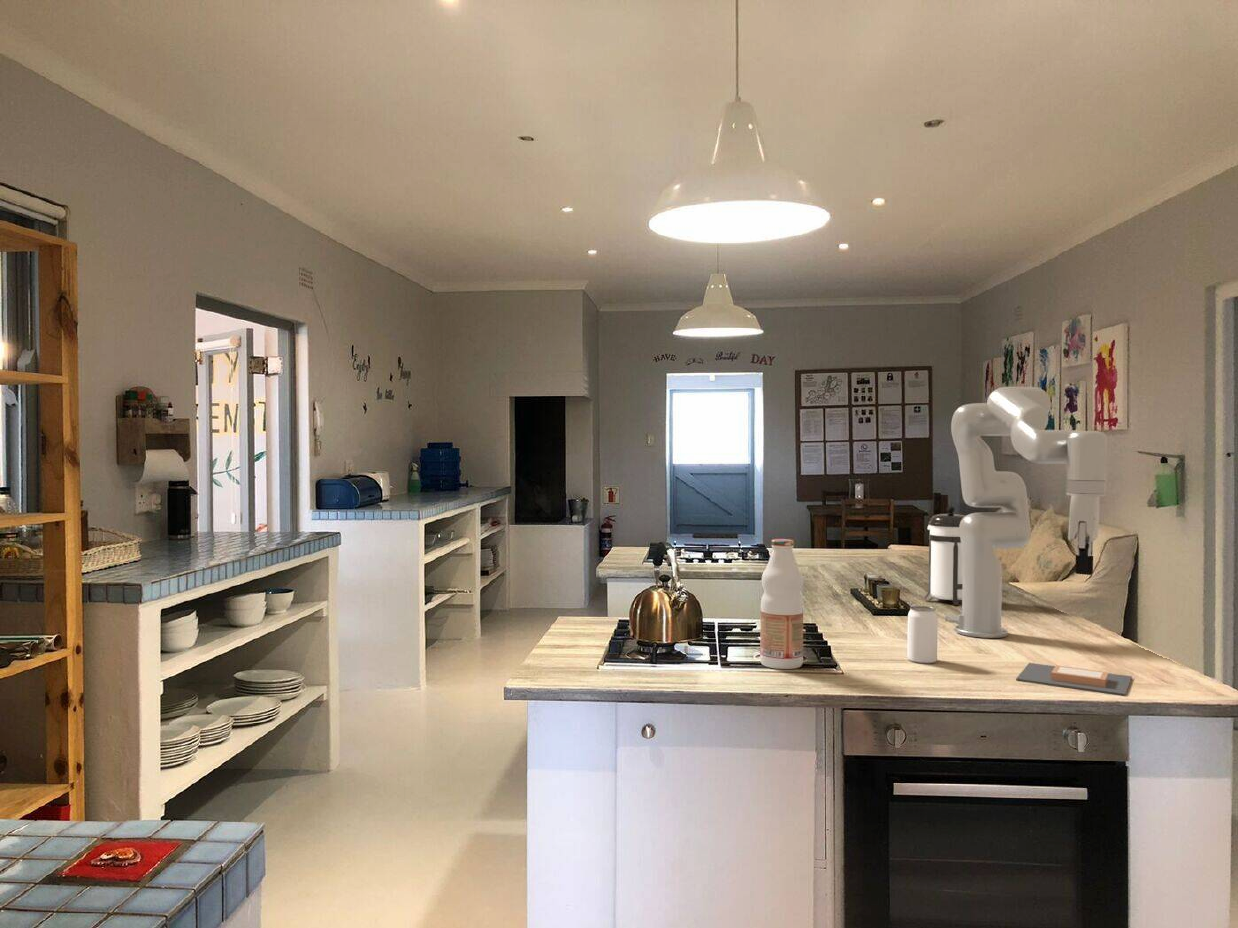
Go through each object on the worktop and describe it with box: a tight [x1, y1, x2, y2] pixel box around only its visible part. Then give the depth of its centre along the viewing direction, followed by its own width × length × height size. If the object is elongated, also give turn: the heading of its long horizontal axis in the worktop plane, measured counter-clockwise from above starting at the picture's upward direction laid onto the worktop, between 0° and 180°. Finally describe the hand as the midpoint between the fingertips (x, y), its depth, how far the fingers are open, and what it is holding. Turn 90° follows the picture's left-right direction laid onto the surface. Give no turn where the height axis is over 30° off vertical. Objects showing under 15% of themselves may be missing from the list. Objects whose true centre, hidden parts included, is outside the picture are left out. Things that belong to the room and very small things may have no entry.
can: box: [906, 605, 939, 665], centre depth 204 cm, size 6×6×12 cm
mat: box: [1015, 662, 1132, 697], centre depth 188 cm, size 20×16×1 cm
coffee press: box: [924, 505, 966, 607], centre depth 277 cm, size 17×16×30 cm
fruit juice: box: [759, 538, 804, 670], centre depth 199 cm, size 9×9×28 cm
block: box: [1051, 665, 1110, 688], centre depth 186 cm, size 10×2×7 cm
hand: (1084, 573), depth 191 cm, fingers closed
